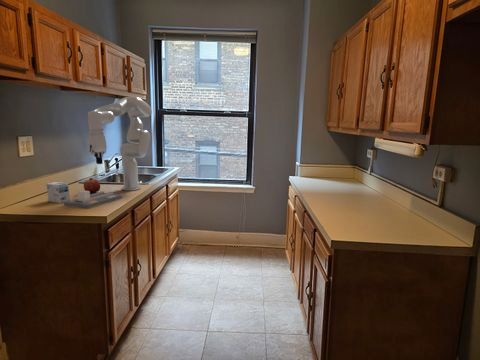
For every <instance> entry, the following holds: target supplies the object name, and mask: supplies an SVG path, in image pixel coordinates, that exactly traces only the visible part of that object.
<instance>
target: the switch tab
mask: <svg viewBox="0 0 480 360" xmlns="http://www.w3.org/2000/svg"><path fill="white" fill-rule="evenodd" d="M76 192H77V195H76V196H77V198H78V201H82V200H85V199H89V198H90V195H91V193H90V191H85V190H79V191H76Z"/></svg>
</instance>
